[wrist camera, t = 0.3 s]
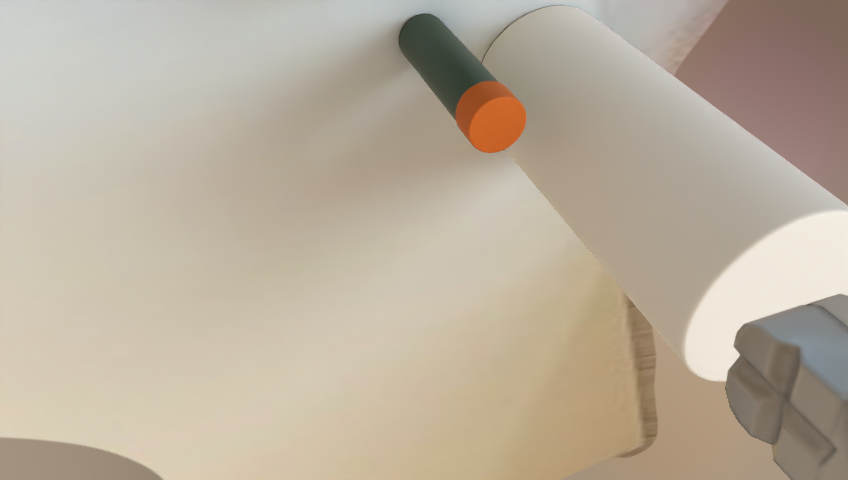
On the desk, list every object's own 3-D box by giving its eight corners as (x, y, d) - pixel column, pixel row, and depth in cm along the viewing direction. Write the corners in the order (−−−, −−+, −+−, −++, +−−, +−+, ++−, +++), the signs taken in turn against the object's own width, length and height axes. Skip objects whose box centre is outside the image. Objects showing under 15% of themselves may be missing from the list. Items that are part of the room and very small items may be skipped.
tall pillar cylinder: (523, -18, 50) (787, 189, 32) (635, 33, 55) (915, 235, 37) (449, 122, 54) (642, 374, 36) (559, 156, 60) (775, 389, 42)
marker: (395, 17, 48) (468, 104, 39) (445, 7, 49) (528, 90, 40) (399, 66, 50) (469, 159, 42) (447, 56, 51) (525, 145, 42)
